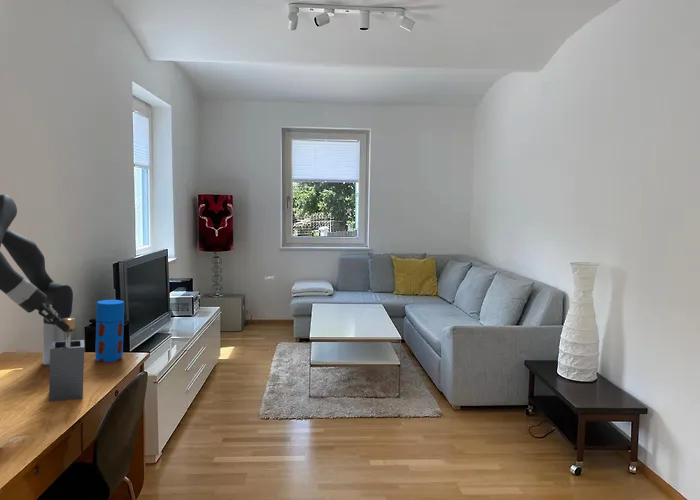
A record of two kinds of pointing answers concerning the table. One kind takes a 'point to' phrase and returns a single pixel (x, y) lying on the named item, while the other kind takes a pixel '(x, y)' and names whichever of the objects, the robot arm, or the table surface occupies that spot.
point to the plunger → (71, 324)
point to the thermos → (109, 330)
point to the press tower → (66, 370)
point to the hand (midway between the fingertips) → (65, 326)
